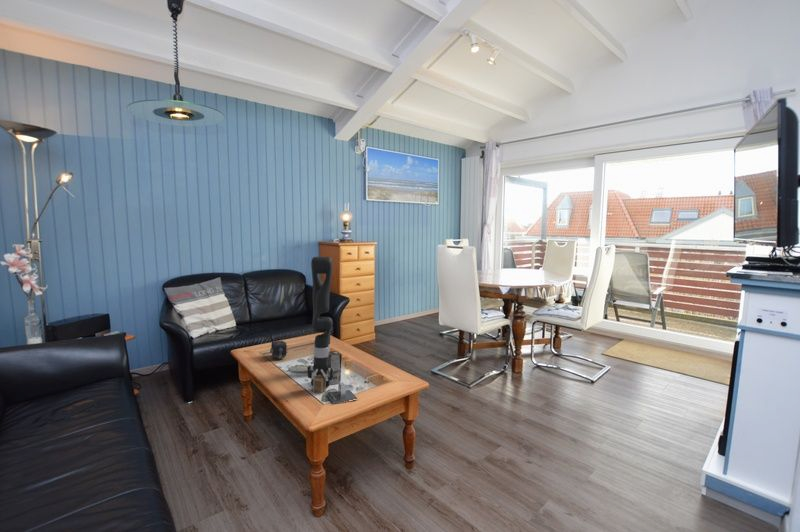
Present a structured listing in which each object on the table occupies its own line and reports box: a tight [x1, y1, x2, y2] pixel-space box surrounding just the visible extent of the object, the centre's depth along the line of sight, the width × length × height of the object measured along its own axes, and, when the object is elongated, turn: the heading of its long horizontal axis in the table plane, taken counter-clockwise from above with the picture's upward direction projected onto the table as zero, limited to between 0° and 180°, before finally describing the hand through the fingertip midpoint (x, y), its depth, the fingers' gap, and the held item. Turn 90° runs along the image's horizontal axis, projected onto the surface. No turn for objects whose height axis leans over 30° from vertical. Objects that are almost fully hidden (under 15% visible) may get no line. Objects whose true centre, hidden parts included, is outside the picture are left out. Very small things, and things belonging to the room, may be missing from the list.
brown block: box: [312, 374, 328, 394], centre depth 190 cm, size 7×5×8 cm
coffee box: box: [327, 350, 343, 386], centre depth 203 cm, size 9×6×16 cm
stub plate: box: [326, 382, 358, 405], centre depth 181 cm, size 12×12×7 cm
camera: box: [269, 340, 288, 359], centre depth 244 cm, size 11×11×15 cm
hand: (320, 386), depth 190 cm, fingers open, 7 cm apart
